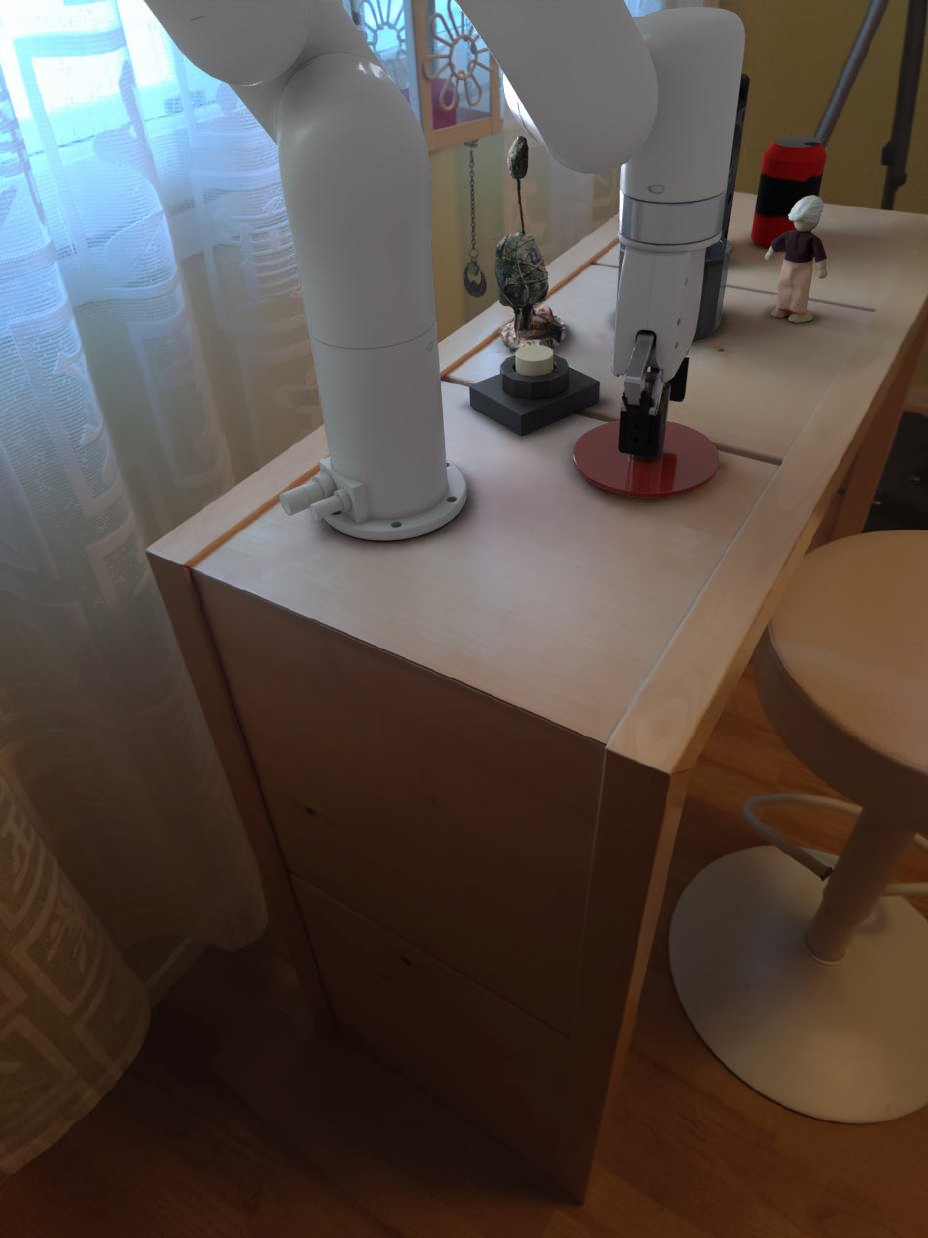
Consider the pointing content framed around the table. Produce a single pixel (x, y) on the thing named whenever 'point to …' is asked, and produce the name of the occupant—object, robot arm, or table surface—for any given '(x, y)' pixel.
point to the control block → (533, 395)
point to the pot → (706, 286)
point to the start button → (534, 360)
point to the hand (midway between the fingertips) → (652, 424)
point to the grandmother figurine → (799, 260)
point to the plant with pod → (524, 276)
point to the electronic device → (735, 150)
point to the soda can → (786, 184)
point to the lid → (648, 459)
